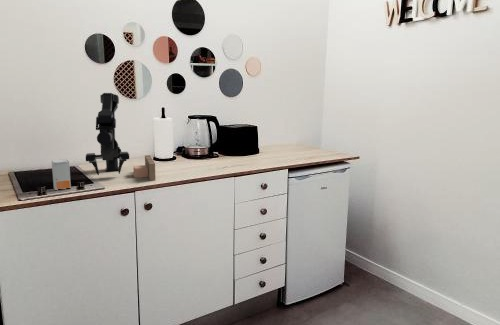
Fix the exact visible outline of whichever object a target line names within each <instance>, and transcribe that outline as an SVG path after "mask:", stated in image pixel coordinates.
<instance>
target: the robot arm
mask: <svg viewBox="0 0 500 325" xmlns="http://www.w3.org/2000/svg"><path fill="white" fill-rule="evenodd" d="M99 96H100V103H101V104H102V105H101V110H100V111H98V113H97V116H96V117H95V131H99V133H98V134H97V136H96V141H97V142H98V143H99V145H100V154H96V153H95V152H89V153H88V152H87V153H86V154H85V162H88V163H89V164H92V165H93V167H94V170H95V171H96V172H95V173H96V175H97V176H100V175H99V174H100V172H99V168H98V162H97V159H99V160H100V159H101V160H102V161H105V172H118V174H121V171H122V167H123V165H124V162H127V160H130V153H129V151H122V149H121V148H120V146H119V143H118V141H117V140H116V128H117V127H116V126H117V119H116V116H115V112H116V111H117V110H118V107H119V106H118V105H119V104H120V97H119V95H117V94H114V93H112V92H103V93H102V94H100V95H99Z"/></svg>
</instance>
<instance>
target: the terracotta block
mask: <svg viewBox="0 0 500 325" xmlns="http://www.w3.org/2000/svg"><path fill="white" fill-rule="evenodd" d="M132 167H133V168H132V169H133V176H134V178H147V177H148V168H147V166H146V165H145V164H144V165H133V166H132Z"/></svg>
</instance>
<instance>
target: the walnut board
mask: <svg viewBox="0 0 500 325" xmlns="http://www.w3.org/2000/svg"><path fill="white" fill-rule="evenodd" d="M144 165H146V166H147V168H148V179H149V181H156V163H155V161H154V160H153V157H152V156H151V155H150V154H147V155H146V154H145V155H144Z"/></svg>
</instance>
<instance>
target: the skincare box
mask: <svg viewBox="0 0 500 325" xmlns="http://www.w3.org/2000/svg"><path fill="white" fill-rule="evenodd" d="M51 169H52V170H51V171H52V183H53V190H54V191H55V190H57V191H59V190H58V189H65V188H71V189H72V184H71V170H70V161H69V159H59V160H51ZM65 190H66V189H65Z"/></svg>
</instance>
